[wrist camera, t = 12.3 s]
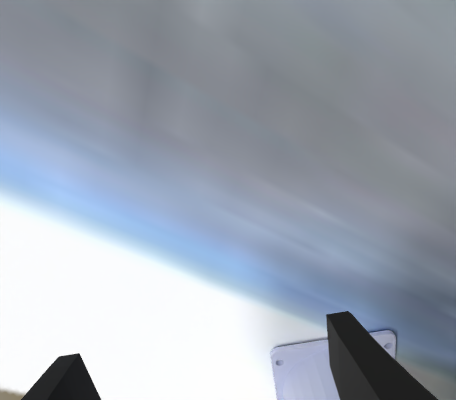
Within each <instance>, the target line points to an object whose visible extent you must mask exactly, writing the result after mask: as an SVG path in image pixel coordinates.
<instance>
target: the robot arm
mask: <svg viewBox="0 0 456 400" xmlns="http://www.w3.org/2000/svg"><path fill="white" fill-rule="evenodd" d="M326 316H327V332H328V339H326V340H320V341H313V342H307V343H300V344H294V345H288V346H281V347H276V348H274V349H272V350H271V352H270V356H271V362H272V369H273V375H274V381H275V387H276V394H277V400H438V399H437V398H436V397H435V396H433V395H432V394H431V393H430V392H429V391H428V390H427V389H425V388H424V387H423V386H422V385H421V384H420V383H419V382H418V381H417V380H416V379H415V378H413V377H412V376H411V375H410V374H409V373H408V372H407V371H406V370H405V369H404V368H403V367H402V366H401V365H400V364H399V363H398V362H397V361H396V360H395V351H396V336H395V335H394V333H393V332H392V331H390V330H384V331H378V332H371V333H368V332H367V330H366V329H365V328H364V327H363V326H362V325H361V324H360V323H359V322H358V321H357V319H356V318H355V317H354V316H353V315H352V314H351V313H350V312H348V311H346V312H340V313H333V314H327V315H326ZM387 343H388V344H387ZM277 360H279V361H277ZM21 400H101V399H100V396H99V394H98V392H97V390H96V388H95V386H94V384H93V382H92V379H91V377H90V375H89V373H88V371H87V369H86V367H85V364H84V362H83V360H82V358H81V356H80V354H72V355H66V356H60V357H58V358H57V359H56V360H55V362H54V363H53V364H52V365H51V366H50V367H49V368H48V369H47V370H46V372H45V373H44V374H43V375H42V376H41V377H40V378H39V380H38V381H37V382H36V383H35V384H34V385H33V386H32V388H31V389H30V390H29V391H28V392H27V393H26V395H25V396H24V397H23V398H22V399H21Z"/></svg>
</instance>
